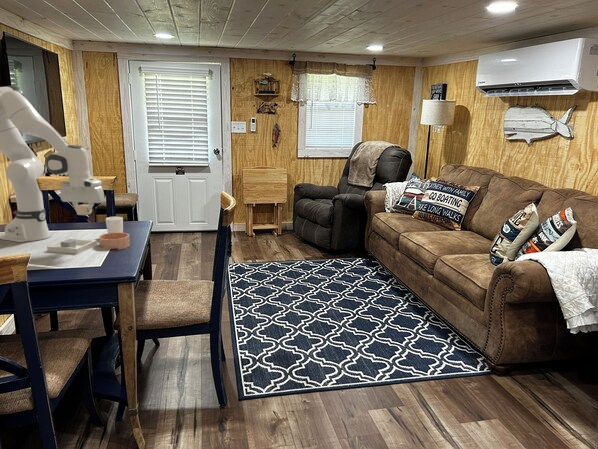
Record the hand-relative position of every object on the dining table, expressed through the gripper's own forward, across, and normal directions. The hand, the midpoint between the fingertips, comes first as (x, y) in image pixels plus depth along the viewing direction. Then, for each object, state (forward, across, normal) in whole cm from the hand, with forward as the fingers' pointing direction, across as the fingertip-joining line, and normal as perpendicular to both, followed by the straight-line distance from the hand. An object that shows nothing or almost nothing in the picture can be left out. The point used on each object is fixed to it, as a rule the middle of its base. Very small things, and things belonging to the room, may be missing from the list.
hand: (84, 211), depth 206 cm
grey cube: (+16, -4, -8) cm, 18 cm away
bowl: (+17, +10, +5) cm, 21 cm away
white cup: (+18, +2, +18) cm, 25 cm away
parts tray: (+17, -4, -5) cm, 18 cm away
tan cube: (+1, 0, 0) cm, 1 cm away
